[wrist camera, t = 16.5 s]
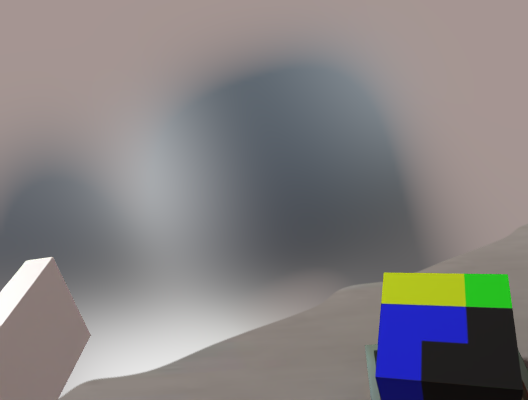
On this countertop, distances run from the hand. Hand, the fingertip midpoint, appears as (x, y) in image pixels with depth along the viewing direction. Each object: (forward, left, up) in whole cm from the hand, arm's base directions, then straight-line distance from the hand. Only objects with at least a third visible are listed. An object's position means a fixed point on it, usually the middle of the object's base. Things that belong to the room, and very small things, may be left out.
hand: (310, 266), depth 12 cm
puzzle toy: (+7, +23, -32) cm, 40 cm away
